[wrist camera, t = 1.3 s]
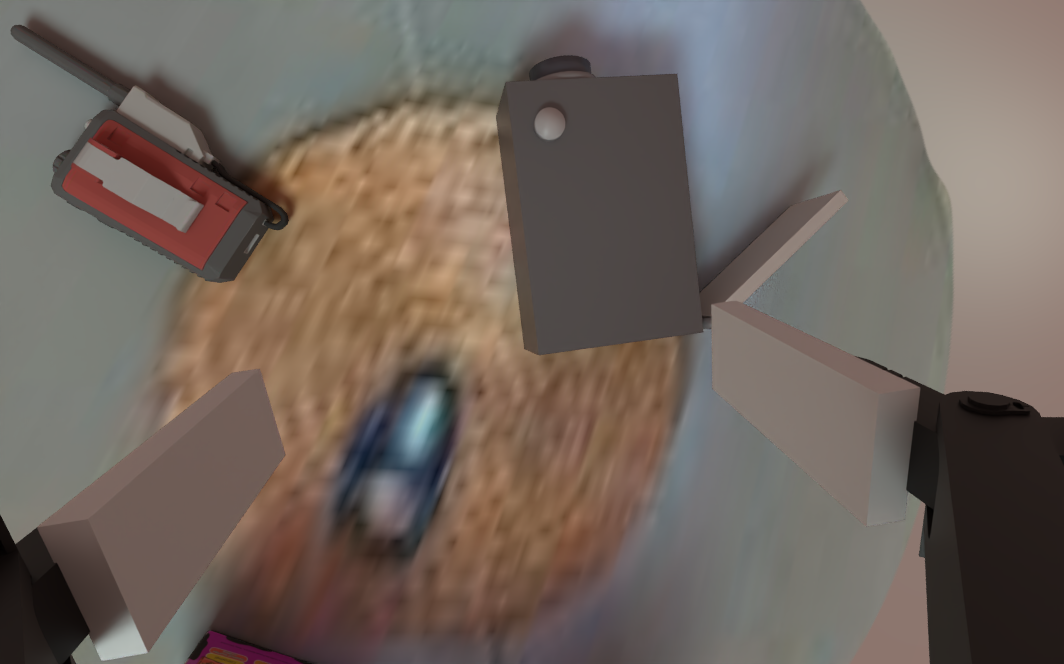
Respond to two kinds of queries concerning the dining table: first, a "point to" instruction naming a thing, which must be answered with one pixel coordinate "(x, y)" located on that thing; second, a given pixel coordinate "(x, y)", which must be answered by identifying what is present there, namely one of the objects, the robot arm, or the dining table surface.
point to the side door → (769, 252)
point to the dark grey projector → (598, 207)
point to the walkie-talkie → (156, 178)
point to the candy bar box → (235, 652)
